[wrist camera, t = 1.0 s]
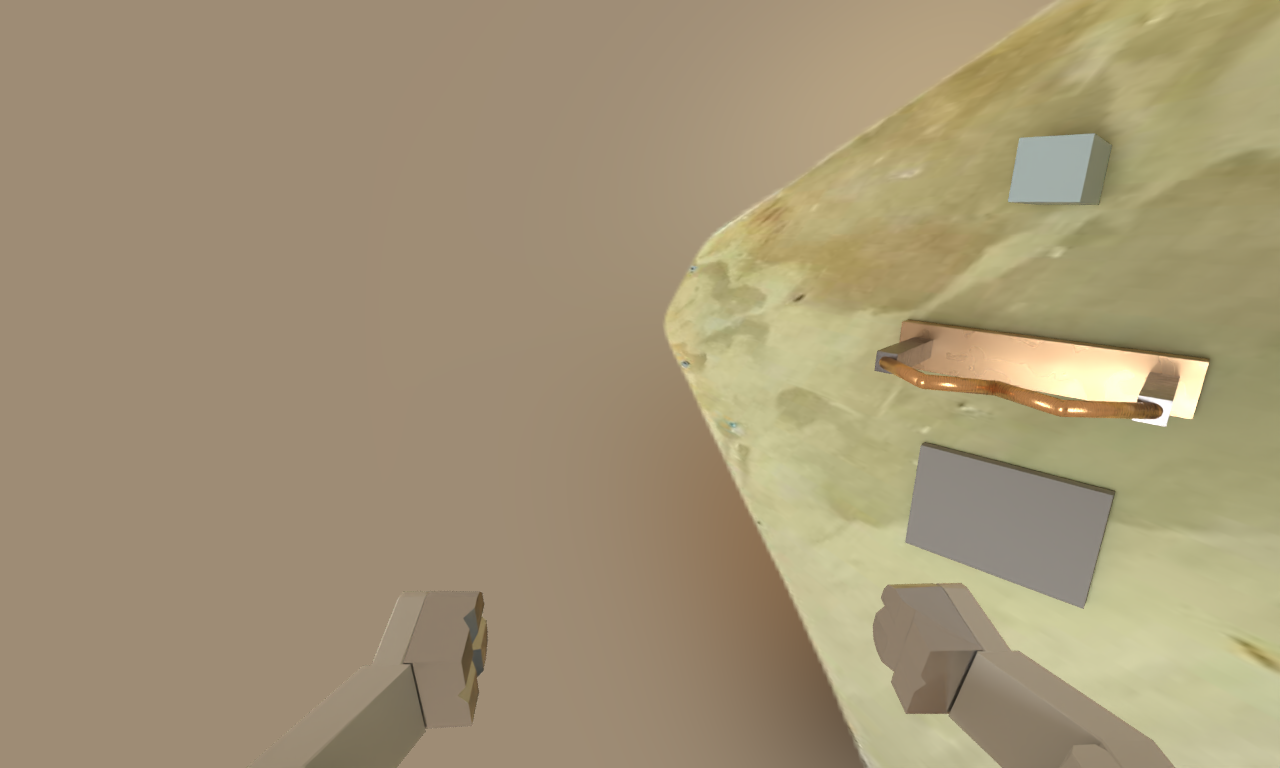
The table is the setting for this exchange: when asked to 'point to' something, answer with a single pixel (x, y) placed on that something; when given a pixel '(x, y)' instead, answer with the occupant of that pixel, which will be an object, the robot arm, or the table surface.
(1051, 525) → the pad
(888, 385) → the table surface
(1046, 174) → the block
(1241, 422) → the table surface
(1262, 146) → the table surface
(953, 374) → the wire frame
